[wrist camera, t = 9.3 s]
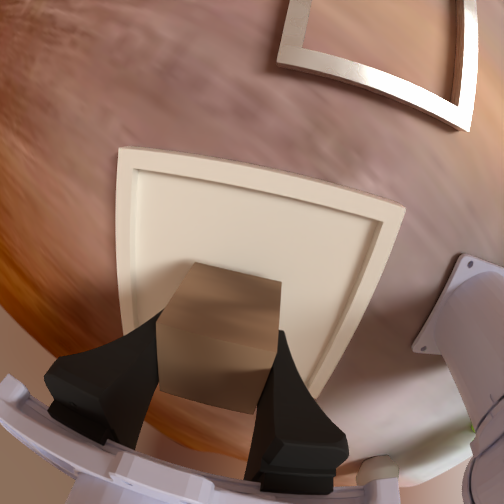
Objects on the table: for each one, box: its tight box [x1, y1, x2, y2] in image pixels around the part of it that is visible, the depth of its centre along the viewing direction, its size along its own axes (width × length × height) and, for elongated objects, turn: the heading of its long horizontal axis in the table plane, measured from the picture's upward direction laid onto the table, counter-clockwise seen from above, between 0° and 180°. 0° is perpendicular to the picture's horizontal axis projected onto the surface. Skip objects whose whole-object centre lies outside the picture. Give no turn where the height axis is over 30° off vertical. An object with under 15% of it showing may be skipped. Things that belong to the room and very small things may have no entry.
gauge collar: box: [276, 0, 478, 132], centre depth 9 cm, size 10×10×1 cm
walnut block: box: [156, 262, 282, 415], centre depth 13 cm, size 4×4×5 cm
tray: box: [116, 146, 406, 399], centre depth 16 cm, size 15×15×1 cm
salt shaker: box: [356, 455, 399, 486], centre depth 20 cm, size 6×6×13 cm
